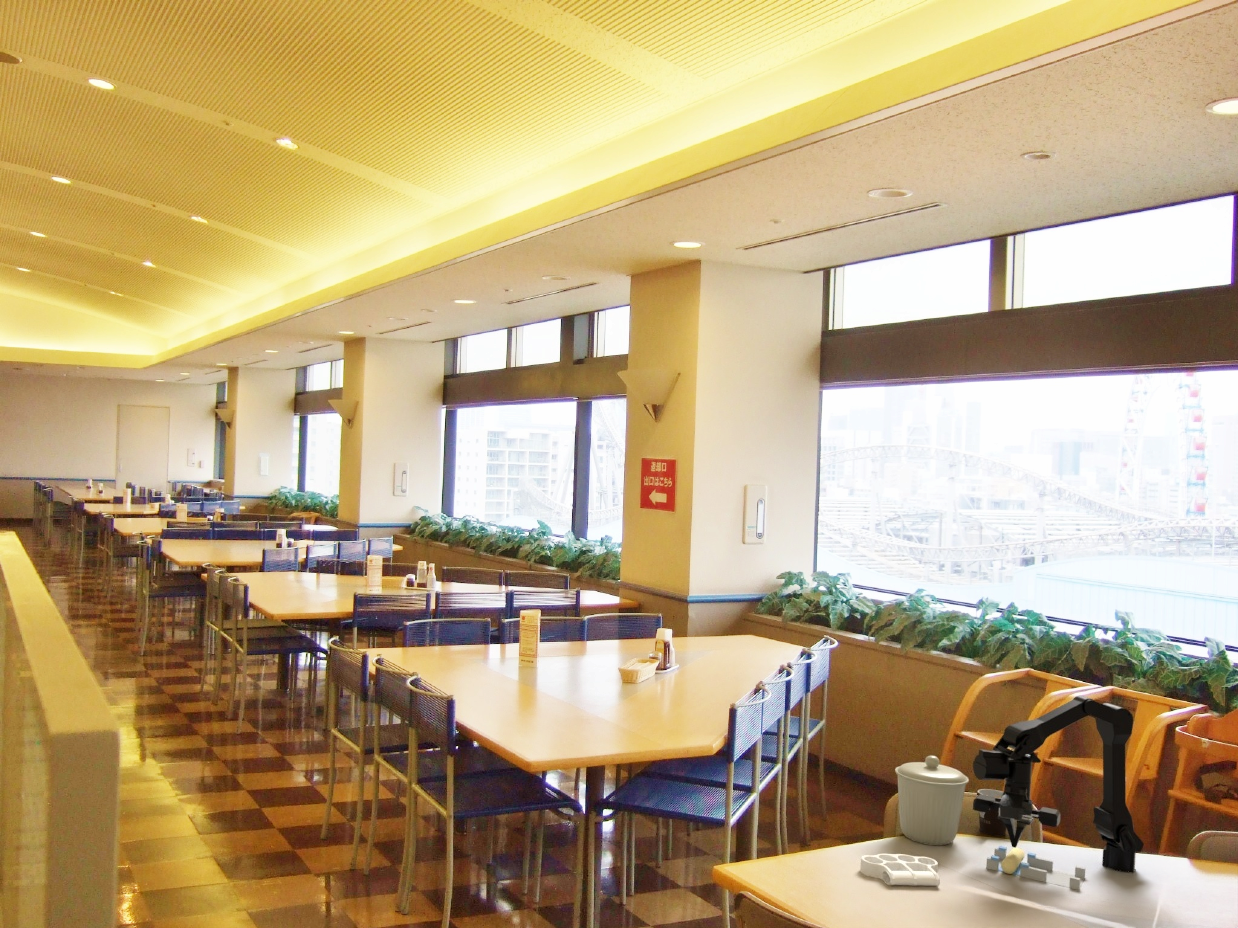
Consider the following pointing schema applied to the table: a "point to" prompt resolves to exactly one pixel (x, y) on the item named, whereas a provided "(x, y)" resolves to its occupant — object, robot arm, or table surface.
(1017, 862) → the cream capsule cylinder
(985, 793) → the coffee mug
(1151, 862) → the table surface
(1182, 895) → the table surface
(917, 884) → the white brass knuckles
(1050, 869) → the toy block layout
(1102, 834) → the robot arm
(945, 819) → the canister
